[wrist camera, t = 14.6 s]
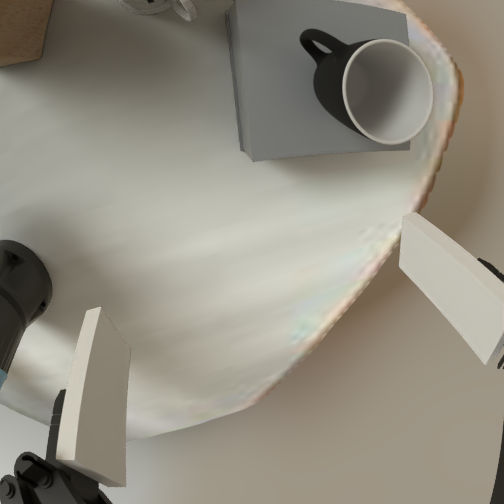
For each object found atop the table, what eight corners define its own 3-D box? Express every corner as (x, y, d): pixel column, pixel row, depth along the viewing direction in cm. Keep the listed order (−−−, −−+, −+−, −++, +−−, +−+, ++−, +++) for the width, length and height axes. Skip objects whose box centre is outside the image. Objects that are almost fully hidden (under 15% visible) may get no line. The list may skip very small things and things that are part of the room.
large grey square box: (240, 149, 38) (250, 164, 31) (225, 13, 28) (232, -5, 21) (379, 138, 39) (411, 152, 33) (374, 19, 30) (407, 12, 23)
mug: (390, 84, 27) (449, 96, 19) (344, 138, 31) (393, 166, 22) (313, 10, 22) (358, -11, 14) (260, 69, 26) (285, 66, 17)
